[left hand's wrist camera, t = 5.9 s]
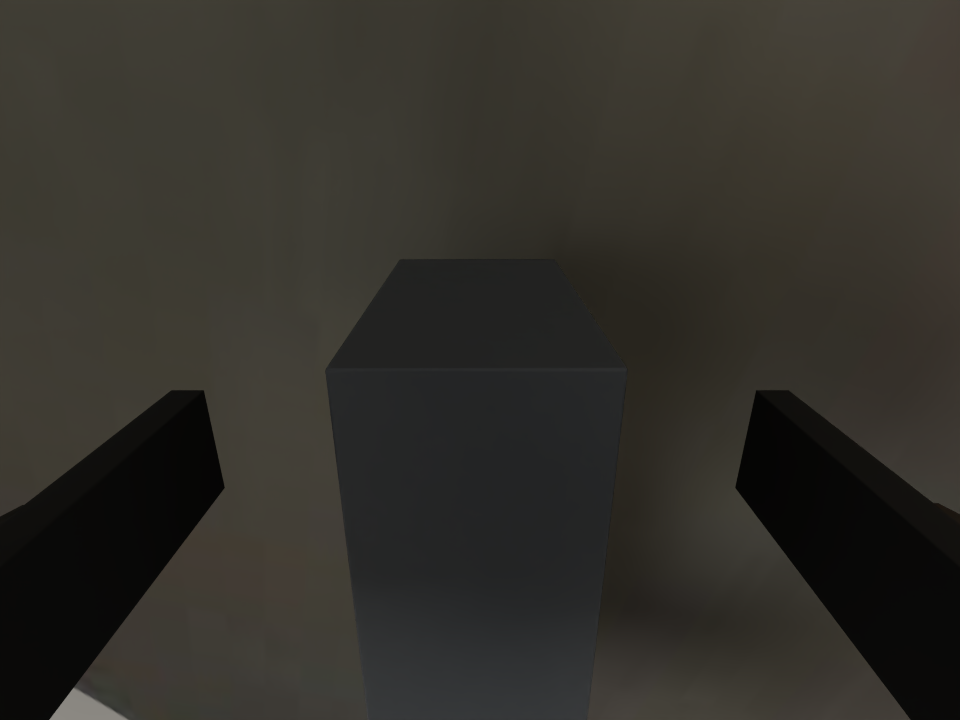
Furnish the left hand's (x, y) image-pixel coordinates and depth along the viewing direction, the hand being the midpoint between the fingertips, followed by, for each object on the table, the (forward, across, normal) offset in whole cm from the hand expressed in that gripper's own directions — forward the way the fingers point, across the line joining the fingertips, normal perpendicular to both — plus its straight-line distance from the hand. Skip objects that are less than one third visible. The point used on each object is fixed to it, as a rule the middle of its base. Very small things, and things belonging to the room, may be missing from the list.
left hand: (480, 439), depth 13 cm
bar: (+5, 0, -8) cm, 9 cm away
